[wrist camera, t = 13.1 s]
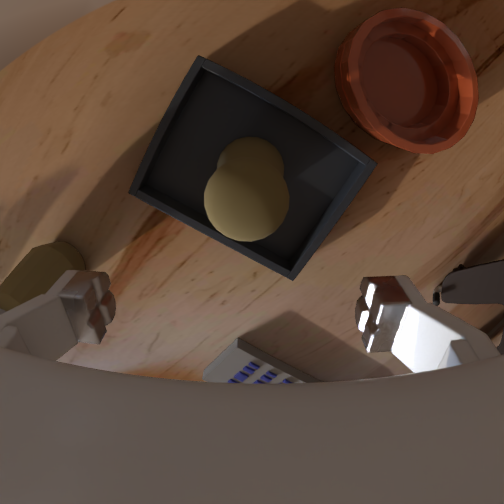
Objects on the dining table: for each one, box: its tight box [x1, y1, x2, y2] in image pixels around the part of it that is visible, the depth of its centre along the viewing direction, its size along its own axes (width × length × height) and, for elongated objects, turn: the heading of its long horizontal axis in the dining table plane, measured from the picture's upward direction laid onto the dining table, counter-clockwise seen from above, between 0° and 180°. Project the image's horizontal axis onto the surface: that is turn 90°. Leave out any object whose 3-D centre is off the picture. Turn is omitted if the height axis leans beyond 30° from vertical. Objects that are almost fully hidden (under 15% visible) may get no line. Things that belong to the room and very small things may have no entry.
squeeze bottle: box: [0, 241, 85, 315], centre depth 25 cm, size 8×8×18 cm
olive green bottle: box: [204, 137, 290, 242], centre depth 22 cm, size 6×6×11 cm
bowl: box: [334, 8, 479, 154], centre depth 21 cm, size 13×13×5 cm
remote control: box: [202, 338, 321, 384], centre depth 40 cm, size 8×23×2 cm, turn 53°
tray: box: [128, 55, 377, 281], centre depth 27 cm, size 18×14×3 cm
